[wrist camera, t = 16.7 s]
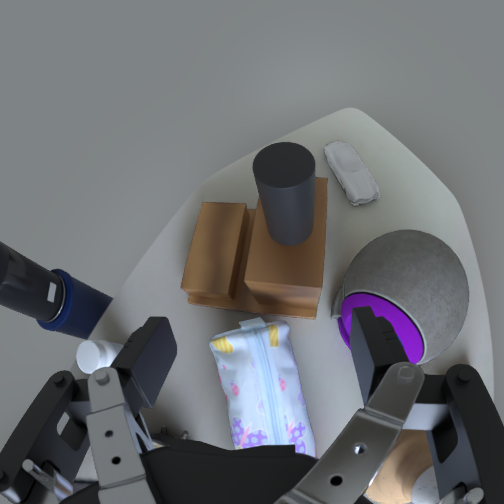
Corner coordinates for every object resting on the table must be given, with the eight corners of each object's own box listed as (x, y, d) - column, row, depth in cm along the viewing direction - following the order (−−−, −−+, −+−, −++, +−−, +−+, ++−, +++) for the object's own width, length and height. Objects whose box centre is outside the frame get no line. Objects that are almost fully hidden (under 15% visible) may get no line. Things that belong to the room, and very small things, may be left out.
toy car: (351, 209, 38) (355, 195, 35) (318, 150, 43) (318, 135, 40) (380, 200, 38) (385, 186, 35) (344, 144, 43) (346, 129, 40)
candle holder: (342, 458, 25) (385, 546, 7) (426, 398, 26) (536, 408, 8) (383, 516, 20) (434, 601, 2) (459, 460, 21) (554, 495, 3)
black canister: (264, 244, 27) (247, 187, 19) (270, 204, 29) (257, 141, 20) (311, 248, 26) (314, 190, 18) (314, 207, 28) (316, 142, 19)
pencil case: (325, 480, 24) (332, 513, 16) (254, 492, 25) (238, 526, 16) (289, 322, 33) (285, 305, 25) (220, 338, 34) (192, 326, 25)
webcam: (310, 318, 33) (317, 279, 20) (375, 247, 35) (409, 176, 22) (385, 389, 28) (442, 397, 14) (444, 310, 30) (512, 270, 16)
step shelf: (190, 303, 36) (154, 279, 27) (212, 210, 42) (189, 167, 33) (315, 319, 33) (321, 299, 24) (323, 217, 38) (327, 170, 29)
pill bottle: (121, 384, 33) (81, 383, 25) (108, 355, 35) (69, 347, 27) (146, 369, 33) (107, 366, 26) (131, 339, 35) (93, 329, 28)
